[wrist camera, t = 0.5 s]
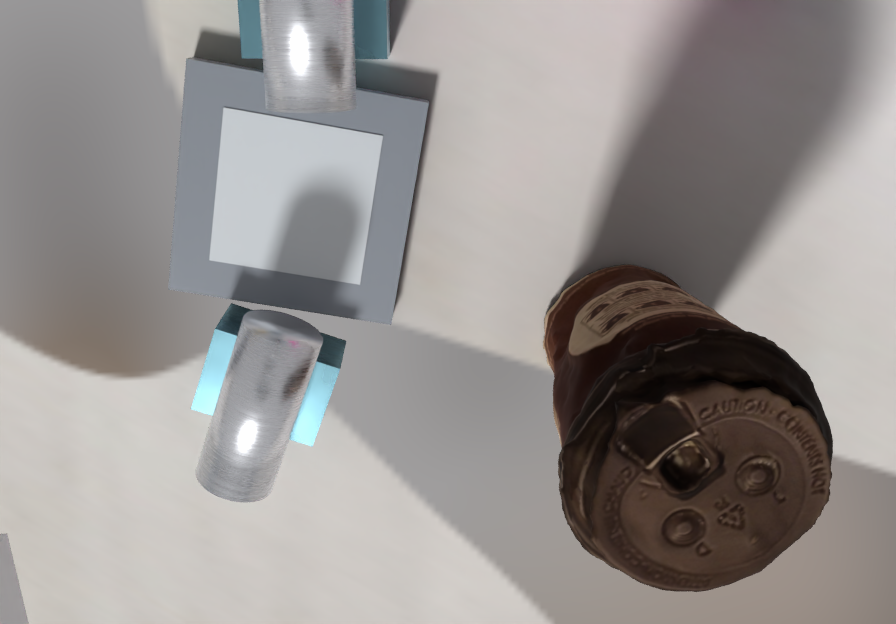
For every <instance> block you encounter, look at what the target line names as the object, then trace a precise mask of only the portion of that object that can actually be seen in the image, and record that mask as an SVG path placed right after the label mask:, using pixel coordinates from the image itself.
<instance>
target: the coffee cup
mask: <svg viewBox="0 0 896 624" xmlns="http://www.w3.org/2000/svg"><path fill="white" fill-rule="evenodd" d="M544 329H545V337H544V341H543V348H544V349H545V351H546V354H547V363H548V365H549V366H550V367H551V368H552V370H553V372H554V377H555V379H554V385H553V411H554V419H555V424H556V427H557V430H558V433H559V437H560V443H561V446H562V450H561V452H560V454H559V461H558V465H559V466H558V467H559V469H558V475H559V478H560V483H559V491H560V495H561V499H562V509H563V511H564V514H565V518H566V520H567V523H568V525H569V526H570V528H571V530H572V532H573V533H574V535H575V537H576V539H577V540H578V541H579V542H580V543H581V545H582V547H583V548H584V549H585V550H587V551H588V552H589V553H590V554H592V555H593V556H595V557H596V558H599V559H601V560H603V561H604V562H606V563H607V564H608V565H609V566H611V567H613V568H615V569H618V570H620V571H622V572H624V573H625V574H627V575H629V576H630V577H631V578H633V579H635V580H637V581H638V582H640V583H643V584H646V585H649V586H652V587H655V588H658V589H662V590H670V591H694V592H699V591H706V590H711V589H714V588H718V587H721V586H725V585H729V584H731V583H734V582H736V581H738V580H741V579H743V578H746V577H748V576H751V575H753V574H755V573H758V572H760V571H762V570H763V569H764V568H765V567H766V566H767V565H768V564H770V563H772V561H773V560H774V559H775V558H777V557H778V556H779V555H780V554H781V553H782V552H783V551H785V550H786V549H787V548H788V547H790V546H791V545H792V544H793V543H794V542H795V541H796V540H798V539H799V538H800V537H801V536H802V535H803V534H804V533H805V532H807V531H808V530H809V529H811V528H812V526H813V525H814V524H815V522H816V520H817V518H818V517H819V516H820V515H821V512H822V510H823V508H824V506H825V504H826V503H827V502H828V501H829V495H830V489H829V487H830V480H831V478H832V472H831V460H832V453H833V440H832V434H831V429H830V426H829V423H828V420H827V418H826V416H825V413H824V410H823V408H822V404H821V402H820V400H819V398H818V396H817V393H816V391H815V388H814V385H813V382H812V381H811V379H810V376H809V375H808V373H807V372H806V371H805V370H803V369H802V368H801V367H800V366H799V364H798V363H797V362H796V361H795V360H794V359H792V358H791V357H790V355H789V354H788V353H787V352H786V351H785V350H783V349H781V348H779V347H778V346H777V345H776V344H775V343H774V342H773V341H770V340H768V339H767V338H765V337H762V336H759V335H757V334H754V333H752V332H746V331H744V330H742V329H740V328H739V327H738V326H736V325H734V324H732V323H731V322H729V321H728V320H726V319H725V318H724V317H722V316H721V315H719V314H718V313H717V312H716V311H715V310H714V309H712V308H710V307H708V306H706V305H704V304H703V303H702V302H701V301H699V300H698V299H696V298H695V297H693V296H691V295H690V294H688V293H687V292H685V291H683V290H682V289H681V288H680V287H679V286H678V285H677V284H676V283H675V282H673V281H672V280H671V279H669V278H668V277H667V276H665V275H663V274H661V273H659V272H656V271H653V270H650V269H646V268H643V267H639V266H635V265H619V266H614V267H608V268H604V269H601V270H598V271H596V272H594V273H591V274H588V275H587V276H585V277H584V278H582V279H581V280H579V281H578V282H576V283H575V284H573V285H571V286H570V287H568V288H567V289H566V290H564V291H563V292H562V293H561V296H560V297H559V299H558V300H557V302H556V303H555V304H554V305H553V306H552V307H551V309H550V310H549V311H548V312H547V314H546V316H545V318H544Z"/></svg>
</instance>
